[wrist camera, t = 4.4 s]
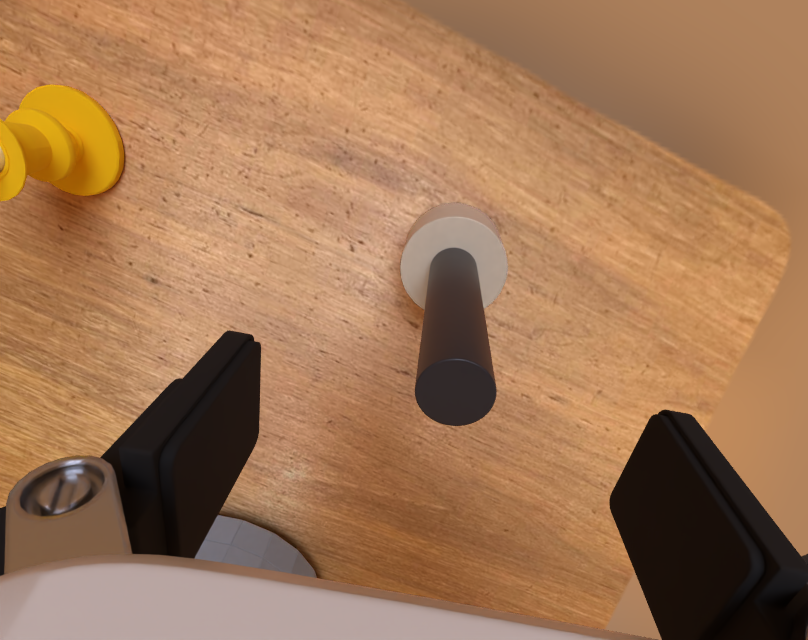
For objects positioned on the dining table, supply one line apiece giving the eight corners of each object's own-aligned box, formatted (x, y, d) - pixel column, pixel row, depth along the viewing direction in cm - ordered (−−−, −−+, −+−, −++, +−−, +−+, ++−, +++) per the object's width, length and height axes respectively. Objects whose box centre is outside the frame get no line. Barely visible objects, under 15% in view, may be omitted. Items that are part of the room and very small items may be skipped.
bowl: (331, 526, 34) (313, 591, 29) (316, 643, 41) (299, 711, 36) (131, 488, 34) (83, 546, 30) (149, 610, 41) (112, 673, 36)
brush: (512, 212, 23) (577, 330, 11) (488, 302, 25) (521, 479, 13) (414, 194, 23) (376, 293, 11) (398, 285, 25) (354, 447, 14)
